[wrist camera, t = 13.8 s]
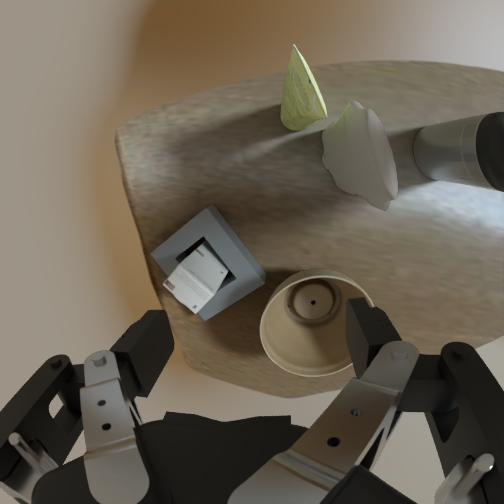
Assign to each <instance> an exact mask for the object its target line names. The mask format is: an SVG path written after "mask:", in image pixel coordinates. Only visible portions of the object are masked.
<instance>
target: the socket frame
mask: <svg viewBox="0 0 504 504" xmlns="http://www.w3.org/2000/svg"><path fill="white" fill-rule="evenodd" d="M203 236H204V237H205V239H206V240H207V241H208V242H209V244H210V245H211V246H212V248H213V249H214V250H215V252H216V253H217V254H218V255H219V257H220V258H221V259H222V261H223V262H224V263H225V264H226V266H227V267H228V268H229V269H230V271H231V272H232V273H233V275H231V276H230V277H229V278H227V279H226V280H224V281H223V282H222V283H221V285H220V287H219V288H218V290H217V292H216V293H215V295H214V296H213V297H212V298H211V299H210V300H209V301H208V302H207V303H206V304H205V305H204V306H203V307H202V308H201V309H200V310H199V311H198V314H199V315H200V316H201V317H202V318H203V319H204V321H206V320H208V319H209V318H211V317H213V316H214V315H216V314H217V313H219V312H221V311H222V310H224V309H225V308H227V307H229V306H230V305H232V304H233V303H235V302H236V301H238V300H240V299H241V298H243V297H244V296H246V295H248V294H249V293H251V292H252V291H254V290H255V289H257V288H258V287H260V286H262V285H263V284H265V279H266V273H265V272H264V270H263V269H262V268H261V266H260V265H259V264H258V262H257V261H256V260H255V258H254V257H253V256H252V255H251V253H250V252H249V251H248V249H247V248H246V247H245V245H244V244H243V243H242V241H241V240H240V239H239V237H238V236H237V235H236V233H235V232H234V231H233V230H232V228H231V227H230V226H229V224H228V223H227V222H226V220H225V219H224V218H223V216H222V215H221V214H220V212H219V211H218V210H217V208H216V207H215V206H214V205H213V204H212V205H210V206H208V207H207V208H205V209H204V210H203V211H202V212H200V213H199V214H198V215H196V216H195V217H194V218H193V219H191V220H190V221H189V222H188V223H187V224H185V225H184V226H183V227H182V228H180V229H179V230H178V231H177V232H175V233H174V234H173V235H172V236H171V237H169V238H168V239H167V240H166V241H165V242H163V243H162V244H161V245H160V246H159V247H158V248H156V249H155V250H154V251H153V252H152V253H150V254H151V256H152V257H153V258H154V260H155V261H156V262H157V263H158V265H159V266H160V267H161V269H162V270H163V271H164V272H165V274H166V275H167V276H168V277H169V276H170V274H171V273H172V272H173V271H174V270H175V268H176V267H177V266H178V265H179V264H180V263H181V262H182V261H183V260H184V259H185V258H186V257H187V256H186V254H185V253H184V251H185V250H186V249H187V248H189V247H190V246H191V245H193V244H194V243H195V242H196V241H198V240H199V239H200V238H202V237H203Z"/></svg>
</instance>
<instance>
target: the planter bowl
mask: <svg viewBox="0 0 504 504" xmlns="http://www.w3.org/2000/svg"><path fill="white" fill-rule="evenodd" d="M359 297H364V298H365V299H366V301H367V303H368V304H369V306H370V308H371V307H374V305H373V303H372V301H371V299H370V297H369V296H368V295H367V293H366V292H365V291H364V290H363V289H362V288H361V287H360V286H359V285H357V284H356V283H355V282H354V281H353V280H352V279H350V278H349V277H347V276H346V275H344V274H342V273H340V272H337V271H334V270H330V269H323V268H314V269H307V270H304V271H300V272H298V273H296V274H294V275H292V276H290V277H289V278H287V279H286V280H285V281H283V282H282V283H281V284H280V285H279V286H278V287H277V288H276V290H275V291H274V292H273V294H272V295H271V297H270V299H269V301H268V303H267V305H266V307H265V309H264V312H263V314H262V318H261V322H260V339H261V343H262V345H263V348H264V350H265V352H266V353H267V355H268V356H269V358H270V359H271V360H272V361H273V362H274V363H275V364H276V365H278V366H279V367H281V368H282V369H284V370H286V371H288V372H291V373H293V374H297V375H301V376H309V377H316V376H325V375H330V374H333V373H337V372H339V371H342V370H344V369H346V368H347V367H349V366H351V365H352V364H353V363H352V360H351V357H350V353H349V350H348V347H347V343H346V335H345V328H346V301H347V299H350V298H359ZM313 300H315V302H316V303H315V304H314V305H313V304H312V303H311V302H312V301H313Z"/></svg>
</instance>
